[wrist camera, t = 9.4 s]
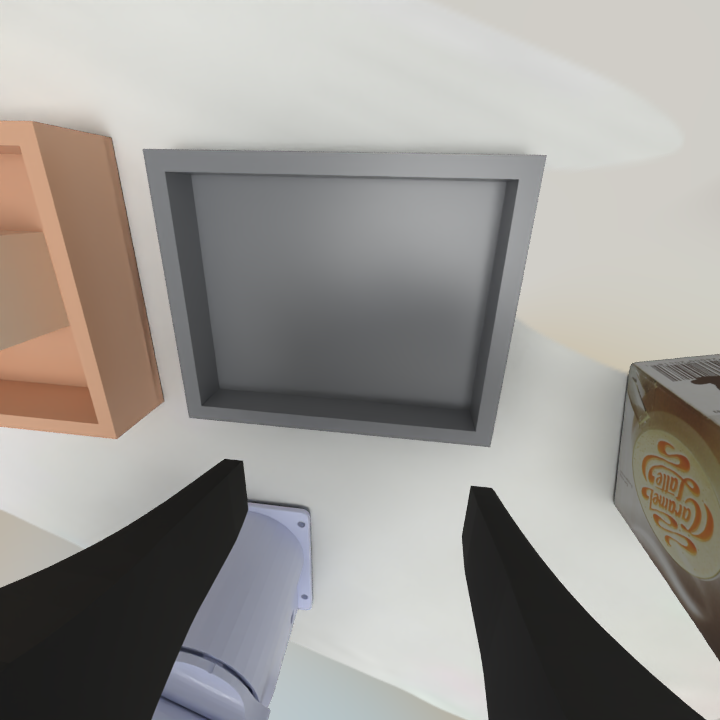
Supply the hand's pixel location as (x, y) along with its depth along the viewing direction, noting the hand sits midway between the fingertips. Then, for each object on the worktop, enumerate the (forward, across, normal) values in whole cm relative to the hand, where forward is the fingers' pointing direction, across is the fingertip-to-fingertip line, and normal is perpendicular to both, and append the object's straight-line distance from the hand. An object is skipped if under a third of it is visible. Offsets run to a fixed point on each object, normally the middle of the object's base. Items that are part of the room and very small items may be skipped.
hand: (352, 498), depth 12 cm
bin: (+9, +20, -4) cm, 22 cm away
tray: (+9, +2, -4) cm, 10 cm away
